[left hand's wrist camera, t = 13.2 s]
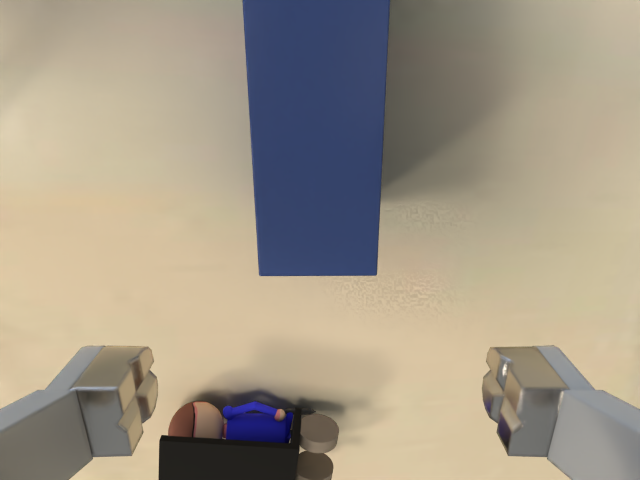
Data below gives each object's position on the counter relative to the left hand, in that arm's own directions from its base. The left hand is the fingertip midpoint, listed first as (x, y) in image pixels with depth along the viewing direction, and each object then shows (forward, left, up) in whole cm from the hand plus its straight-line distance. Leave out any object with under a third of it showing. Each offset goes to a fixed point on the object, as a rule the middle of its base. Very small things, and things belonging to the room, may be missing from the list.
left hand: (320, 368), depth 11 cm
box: (+7, +3, -25) cm, 26 cm away
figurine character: (-25, -4, -25) cm, 35 cm away
